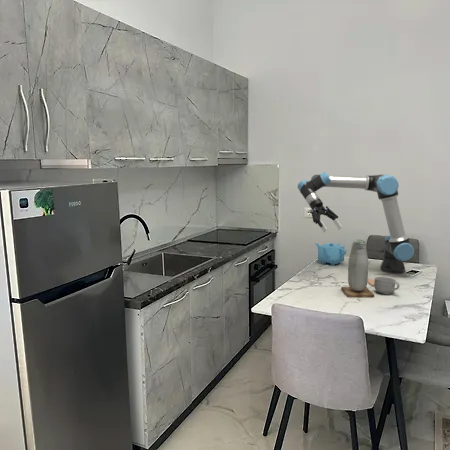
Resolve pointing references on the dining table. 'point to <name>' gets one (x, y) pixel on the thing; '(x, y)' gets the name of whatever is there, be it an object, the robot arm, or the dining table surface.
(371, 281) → the terracotta tile
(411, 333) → the dining table surface
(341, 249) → the teakettle
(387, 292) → the teacup
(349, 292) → the walnut board
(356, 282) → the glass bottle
